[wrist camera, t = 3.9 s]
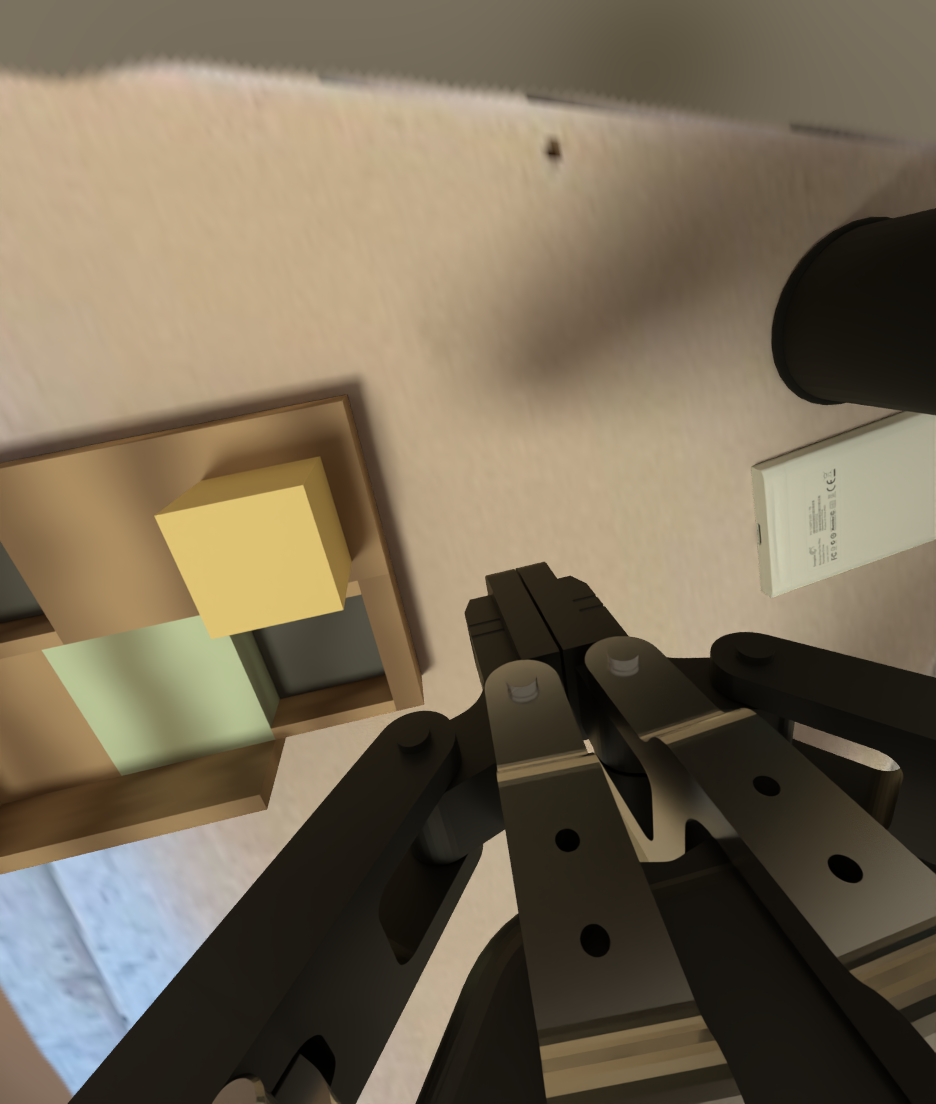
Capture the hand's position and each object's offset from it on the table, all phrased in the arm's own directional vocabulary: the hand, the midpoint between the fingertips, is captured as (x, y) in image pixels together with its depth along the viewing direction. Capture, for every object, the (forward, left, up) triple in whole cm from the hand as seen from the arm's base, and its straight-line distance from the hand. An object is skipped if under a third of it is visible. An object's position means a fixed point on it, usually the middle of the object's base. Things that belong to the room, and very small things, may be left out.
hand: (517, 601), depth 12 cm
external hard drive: (-22, +6, -14) cm, 27 cm away
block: (+8, 0, -11) cm, 14 cm away
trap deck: (+15, +4, -14) cm, 21 cm away
